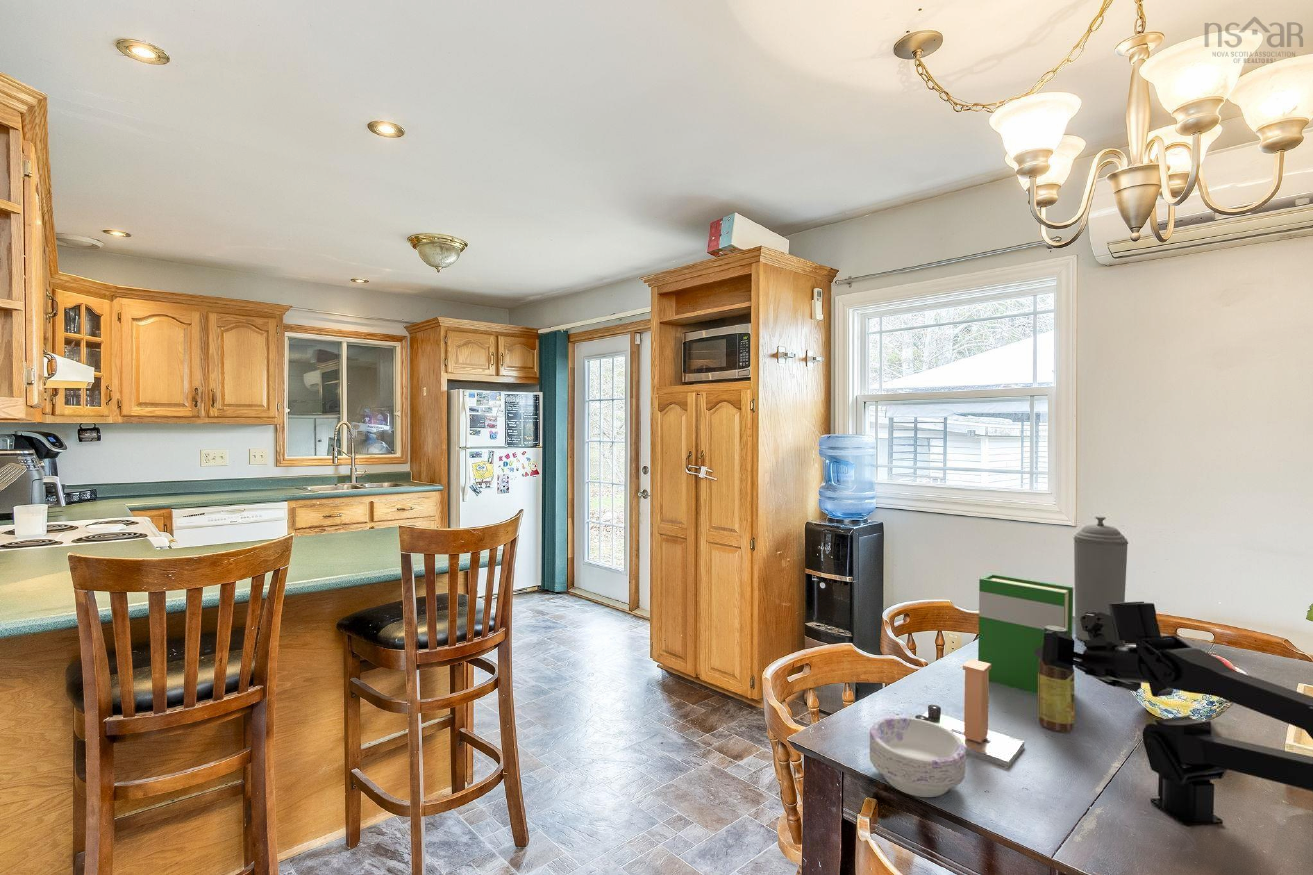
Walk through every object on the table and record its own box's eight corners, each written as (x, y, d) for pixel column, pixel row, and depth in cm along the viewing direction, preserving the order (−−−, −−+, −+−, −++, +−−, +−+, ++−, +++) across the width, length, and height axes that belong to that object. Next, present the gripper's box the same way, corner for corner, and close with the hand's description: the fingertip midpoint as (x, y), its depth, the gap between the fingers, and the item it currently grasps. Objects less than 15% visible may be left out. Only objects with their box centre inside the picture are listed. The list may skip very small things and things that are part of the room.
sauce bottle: (1079, 735, 126) (1081, 634, 125) (1044, 732, 127) (1046, 632, 127) (1065, 720, 132) (1067, 624, 132) (1032, 717, 133) (1034, 622, 133)
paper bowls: (959, 820, 99) (960, 769, 99) (859, 790, 107) (860, 743, 107) (969, 774, 112) (970, 729, 112) (879, 750, 120) (880, 708, 120)
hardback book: (1071, 691, 146) (1073, 587, 146) (1062, 701, 141) (1064, 592, 141) (988, 669, 159) (990, 573, 158) (977, 677, 154) (979, 578, 153)
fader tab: (990, 735, 123) (991, 663, 122) (982, 743, 119) (983, 670, 119) (970, 728, 125) (971, 658, 125) (961, 737, 122) (962, 665, 122)
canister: (1135, 650, 173) (1138, 520, 172) (1082, 646, 176) (1084, 519, 175) (1113, 634, 185) (1116, 514, 184) (1064, 631, 188) (1066, 512, 187)
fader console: (1024, 747, 121) (1024, 730, 121) (1008, 767, 114) (1008, 750, 114) (927, 716, 134) (927, 701, 133) (907, 733, 126) (908, 717, 126)
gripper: (1173, 631, 114) (1098, 629, 129) (1083, 601, 112) (1017, 603, 126) (1173, 696, 110) (1095, 687, 125) (1079, 667, 108) (1012, 661, 123)
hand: (1055, 658), depth 125 cm, fingers open, 9 cm apart
